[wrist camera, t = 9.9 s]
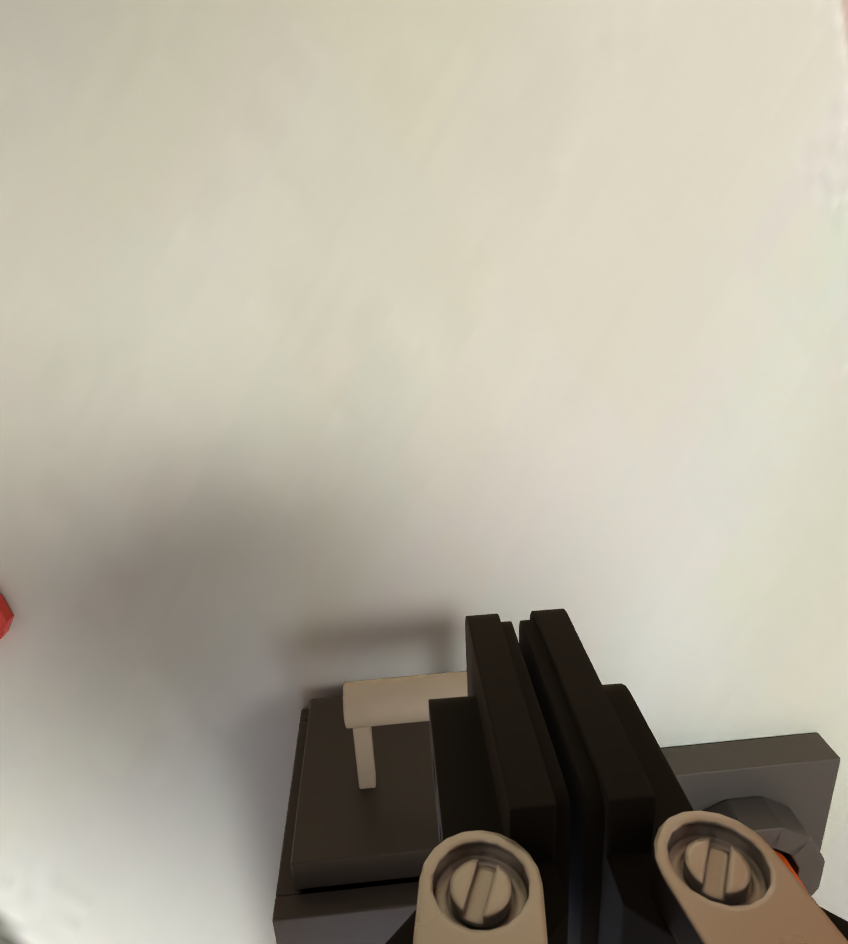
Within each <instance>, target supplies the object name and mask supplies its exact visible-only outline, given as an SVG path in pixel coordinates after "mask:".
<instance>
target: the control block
mask: <svg viewBox="0 0 848 944" xmlns="http://www.w3.org/2000/svg"><path fill="white" fill-rule="evenodd" d="M661 750H662V752H663V754H664V756H665V758H666V760H667V761H668V763H669V765H670V767H671V769H672V771H673V773H674V774H675V776H676V778H677V780H678V782H679V784H680V786H681V787H682V789H683V791H684V793H685V795H686V797H687V799H688V800H689V802H690V804H691V806H692V808H693V810H694V811H707V812H713V813H719V814H722V815H724V816H727V817H729V818H732V819H734V820H737V821H739V822H741V823H742V824H744V825H745V826H747V827H748V828H750V829H752V830H753V831H755V832H756V833H757V834H758V835H759V836H760V837H761V838H762V839H763V840H764V841H765V842H766V843H767V844H769V845H770V846H771V848H772V849H773V850H775V851H777V852H779V853H781V854H782V855H783V856H784V857H785V858H786V859H787V861H788V862H789V864H790V865H791V867H792V868H793V870H794V871H795V873H796V874H797V876H798V877H799V879H800V880H801V882H802V883H803V885H804V886H805V888H806V889H807V891H808V893H809V894H810V895H811V896H812V895H813V894H814V892H815V891H816V890H817V889H818V887H819V884H820V880H821V876H822V871H823V867H824V862H825V861H824V858H823V856H822V855H821V853H820V849H821V845H822V840H823V836H824V831H825V827H826V822H827V818H828V813H829V809H830V804H831V800H832V795H833V791H834V786H835V781H836V777H837V772H838V768H839V763H840V758H839V756H838V755H837V754H836V753H835V752H834V751H833V750H832V748H831V747H830V746H829V745H828V744H827V743H826V742H825V741H824V739H823V738H822V737H821V736H820V735H819V734H818V733H812V734H802V735H792V736H782V737H772V738H761V739H751V740H741V741H731V742H721V743H711V744H701V745H691V746H681V747H671V748H661Z"/></svg>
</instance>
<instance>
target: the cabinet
mask: <svg viewBox="0 0 848 944" xmlns="http://www.w3.org/2000/svg"><path fill="white" fill-rule="evenodd" d="M308 716H309V708H308V709H302V711H301V717H300V724H299V732H298V739H297V746H296V753H295V760H294V768H293V775H292V782H291V789H290V797H289V804H288V811H287V818H286V826H285V833H284V840H283V847H282V855H281V862H280V869H279V876H278V884H277V891H276V899H275V905H274V912H273V919H272V920H273V926H274V931H275V936H276V942H277V944H385V943H386V942H387V941H388V940H389V939H390V938H391V937H392V936H393V935H394V933H395V932H396V931H397V930H398V929H399V928H400V927H401V926H402V925H403V923H404V922H405V921H406V920H407V919H408V918H409V917H410V916H411V915H412V913H413V912H414V911H415V910H416V908H417V898H418V888H419V882H409V883H400V884H391V885H382V886H373V887H363V888H354V889H345V890H336V891H326V892H323V887H315V888H306V889H295V887H294V881H293V875H292V869H291V856H292V847H293V839H294V831H295V823H296V815H297V807H298V798H299V790H300V782H301V774H302V766H303V757H304V749H305V741H306V733H307V725H308Z"/></svg>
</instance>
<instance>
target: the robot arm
mask: <svg viewBox="0 0 848 944" xmlns="http://www.w3.org/2000/svg"><path fill="white" fill-rule="evenodd" d="M465 633H466V663H467V693H468V696H463V697H451V698H439V699H429V700H428V705H429V724H430V740H431V755H432V768H433V780H434V792H435V802H436V813H437V823H438V833H439V845H438V846H437V847H435V848H434V849H433V851H432V852H431V853H430V855H429V856H428V858H427V859H426V861H425V862H424V865H423V869H422V872H421V876H420V879H419V888H418V898H417V908H416V910H415V911H414V912H413V913H412V915H411V916H410V917H409V918H408V919H407V920H406V921H405V922H404V923H403V925H402V926H401V927H400V928H399V929H398V930H397V931H396V932H395V933H394V935H393V936H392V937H391V938H390V939H389V940H388V941H387V942H386V943H385V944H848V922H847V921H845V920H843V919H842V918H840V917H838V916H836V915H834V914H832V913H831V912H829V911H827V910H825V909H823V908H821V907H820V906H819V905H818V904H817V903H816V902H815V900H814V899H813V898H812V897H811V895H810V894H809V893H808V892H807V890H806V889H805V888H804V887H803V886H802V884H801V883H800V882H799V881H798V879H797V878H796V877H795V876H794V875H793V873H792V872H791V871H790V870H789V868H788V867H787V866H786V865H785V863H784V862H783V861H782V860H781V859H780V857H779V856H778V855H777V854H776V852H775V851H774V850H773V849H772V848H771V846H770V845H769V844H767V843H766V842H765V841H764V840H763V839H762V838H761V837H760V836H759V835H758V834H757V833H756V832H755V831H753V830H752V829H750V828H748V827H747V826H745V825H744V824H742V823H741V822H739V821H737V820H734V819H732V818H729V817H727V816H724V815H722V814H719V813H713V812H707V811H694V810H693V808H692V806H691V804H690V802H689V800H688V799H687V797H686V795H685V793H684V791H683V789H682V787H681V786H680V784H679V782H678V780H677V778H676V776H675V774H674V773H673V771H672V769H671V767H670V765H669V763H668V761H667V760H666V758H665V756H664V754H663V752H662V750H661V749H660V747H659V745H658V743H657V741H656V739H655V737H654V736H653V734H652V732H651V730H650V728H649V726H648V724H647V723H646V721H645V719H644V717H643V715H642V713H641V712H640V710H639V708H638V706H637V704H636V702H635V700H634V699H633V697H632V695H631V693H630V691H629V690H628V689H627V687H626V686H625V685H623V684H610V685H602V684H601V682H600V680H599V678H598V676H597V674H596V672H595V670H594V667H593V665H592V663H591V661H590V659H589V657H588V655H587V653H586V651H585V649H584V647H583V645H582V643H581V641H580V639H579V637H578V635H577V633H576V631H575V628H574V626H573V624H572V622H571V620H570V618H569V616H568V614H567V612H566V611H565V609H552V610H539V611H532V612H531V614H530V620H522V621H520V624H519V642H518V639H517V637H516V634H515V631H514V628H513V625H512V622H511V621H509V622H501V621H500V618H499V615H498V614H487V615H475V616H466V618H465Z"/></svg>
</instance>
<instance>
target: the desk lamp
mask: <svg viewBox="0 0 848 944" xmlns="http://www.w3.org/2000/svg"><path fill="white" fill-rule="evenodd" d="M13 616H14V615H13V613H12V612H11V610H10V608H9V607H8V605H7V603H6V601H5V600H4V598H3V596H2V595H1V594H0V639H1V638H2V637H3V636H4V635H5V634H6V632H7V631H8V630H9V627H10V624H11V621H12V619H13Z"/></svg>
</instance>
